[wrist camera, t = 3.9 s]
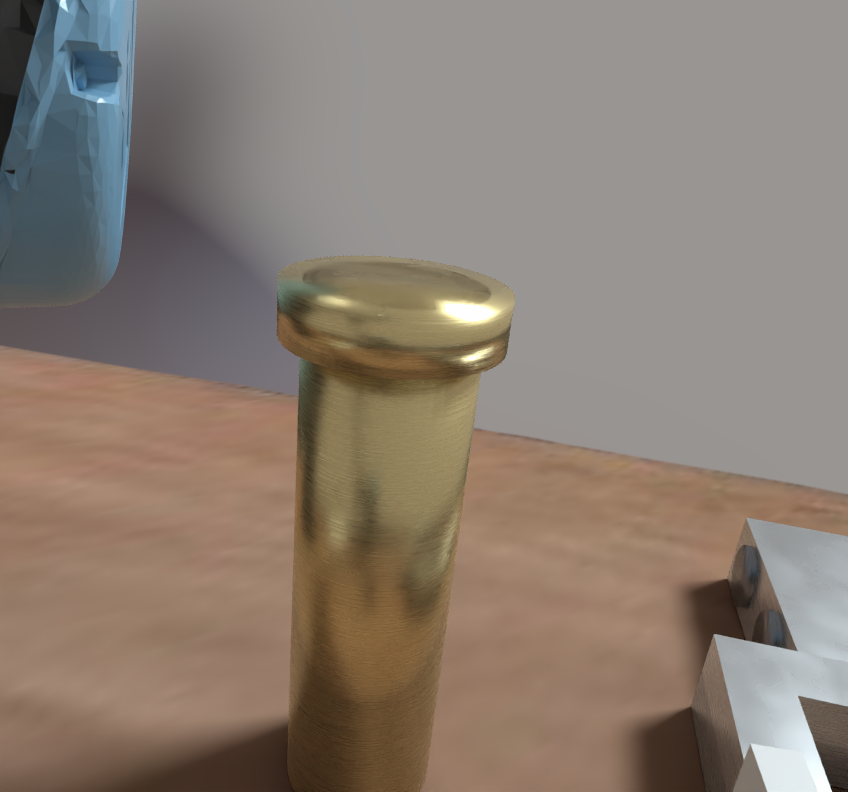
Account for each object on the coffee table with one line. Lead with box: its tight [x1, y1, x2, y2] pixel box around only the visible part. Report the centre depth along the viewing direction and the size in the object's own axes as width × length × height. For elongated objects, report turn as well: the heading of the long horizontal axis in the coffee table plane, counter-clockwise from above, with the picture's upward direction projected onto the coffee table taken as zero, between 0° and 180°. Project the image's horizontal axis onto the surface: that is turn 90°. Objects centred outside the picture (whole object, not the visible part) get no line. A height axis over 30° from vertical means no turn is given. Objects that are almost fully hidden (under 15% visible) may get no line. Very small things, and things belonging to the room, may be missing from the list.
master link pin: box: [276, 256, 515, 792], centre depth 18 cm, size 5×5×14 cm
